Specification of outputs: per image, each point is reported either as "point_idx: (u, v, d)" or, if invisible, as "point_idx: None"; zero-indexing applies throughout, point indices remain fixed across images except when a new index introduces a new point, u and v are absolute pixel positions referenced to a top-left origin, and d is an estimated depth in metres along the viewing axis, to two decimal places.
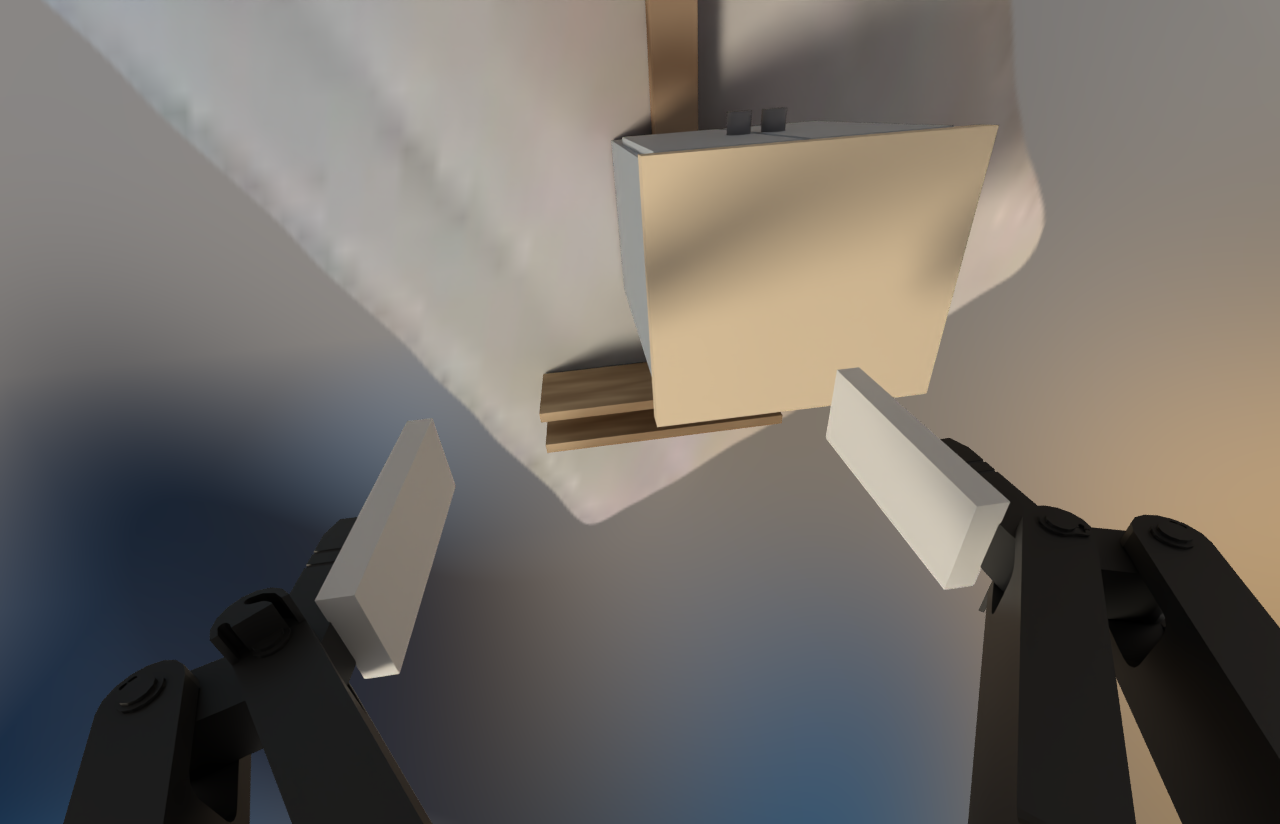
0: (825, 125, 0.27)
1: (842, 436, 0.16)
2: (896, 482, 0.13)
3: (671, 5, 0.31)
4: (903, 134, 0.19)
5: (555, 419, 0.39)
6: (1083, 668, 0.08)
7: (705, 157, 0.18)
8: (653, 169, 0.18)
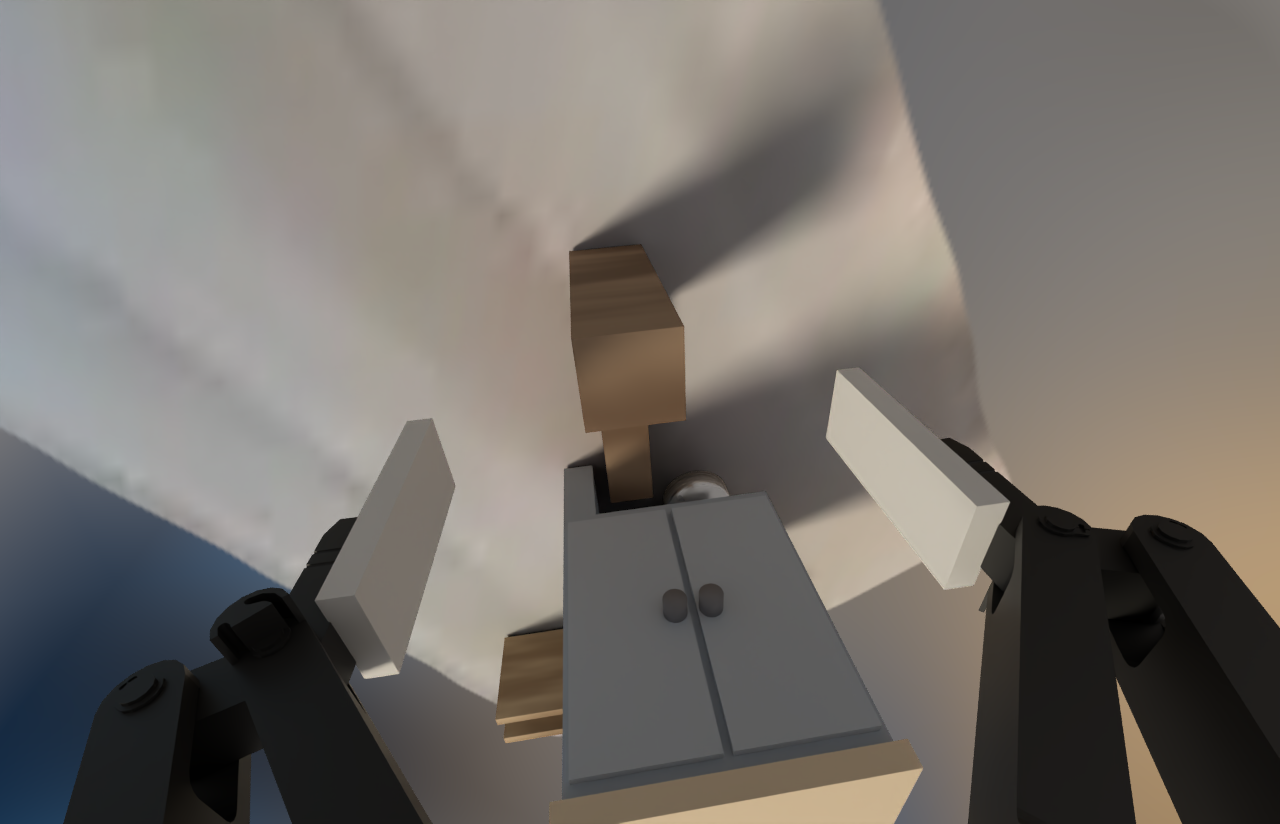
0: (767, 577, 0.26)
1: (842, 436, 0.16)
2: (896, 482, 0.13)
3: None
4: (823, 786, 0.18)
5: (512, 721, 0.39)
6: (1083, 668, 0.08)
7: None
8: None
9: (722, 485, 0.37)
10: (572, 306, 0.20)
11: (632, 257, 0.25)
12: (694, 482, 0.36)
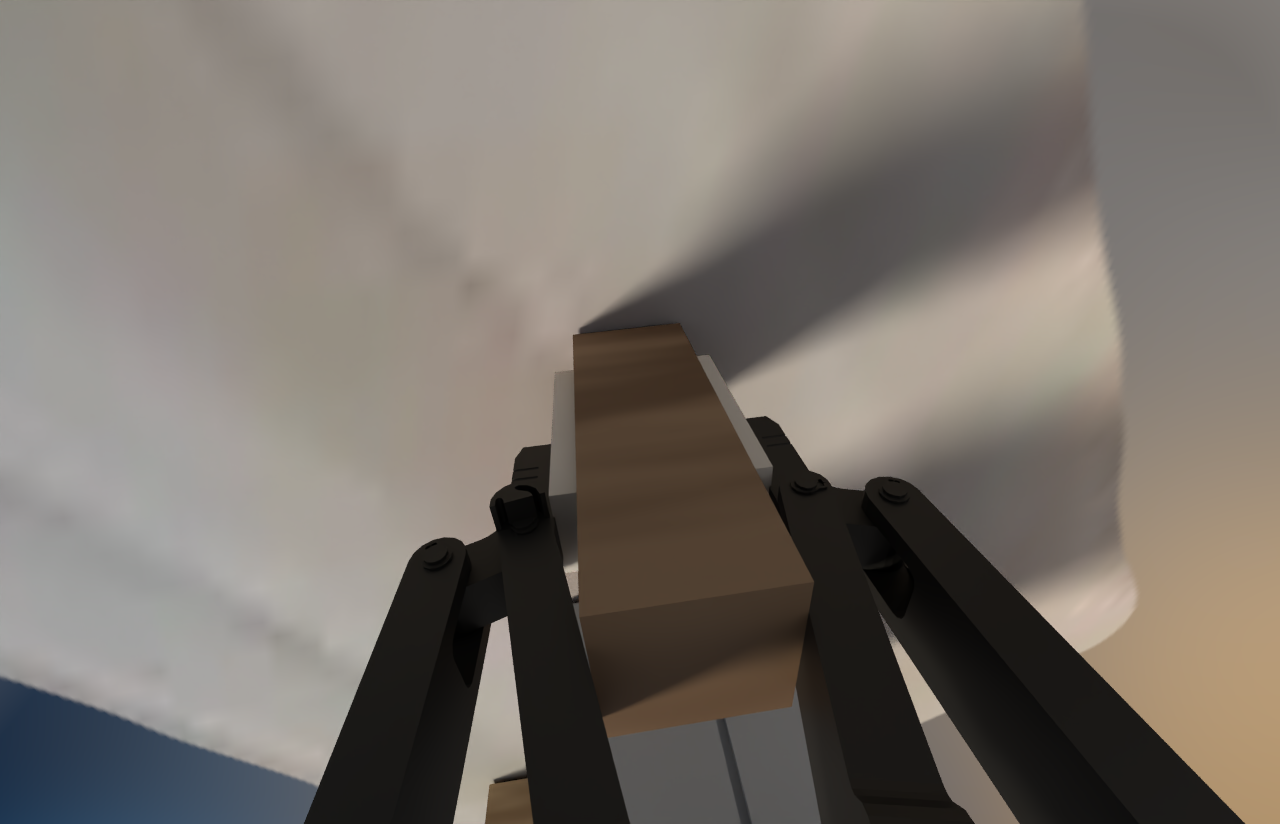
0: None
1: None
2: None
3: None
4: None
5: None
6: (855, 611, 0.09)
7: None
8: None
9: None
10: (580, 488, 0.11)
11: (671, 352, 0.16)
12: None
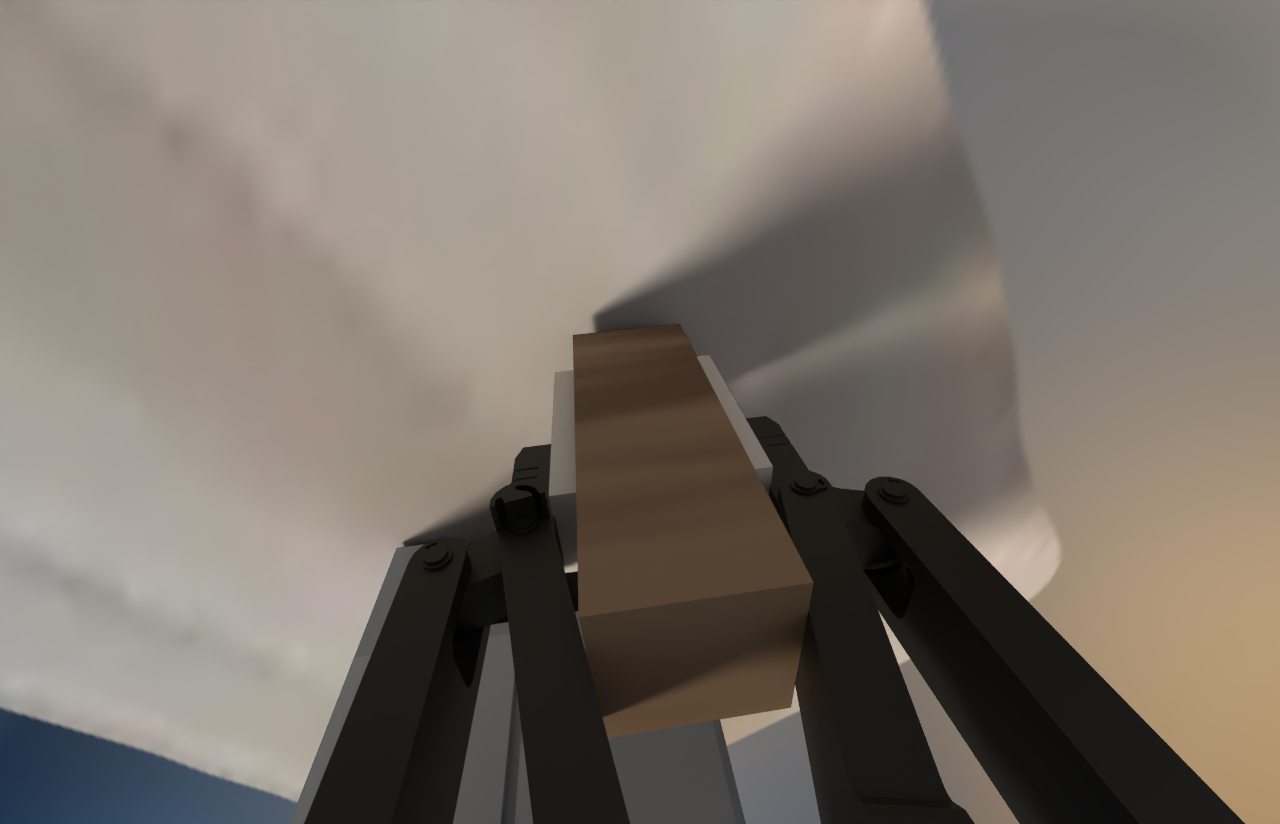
0: (658, 799, 0.14)
1: None
2: None
3: None
4: None
5: None
6: (855, 611, 0.09)
7: None
8: None
9: None
10: (579, 488, 0.11)
11: (671, 353, 0.16)
12: None
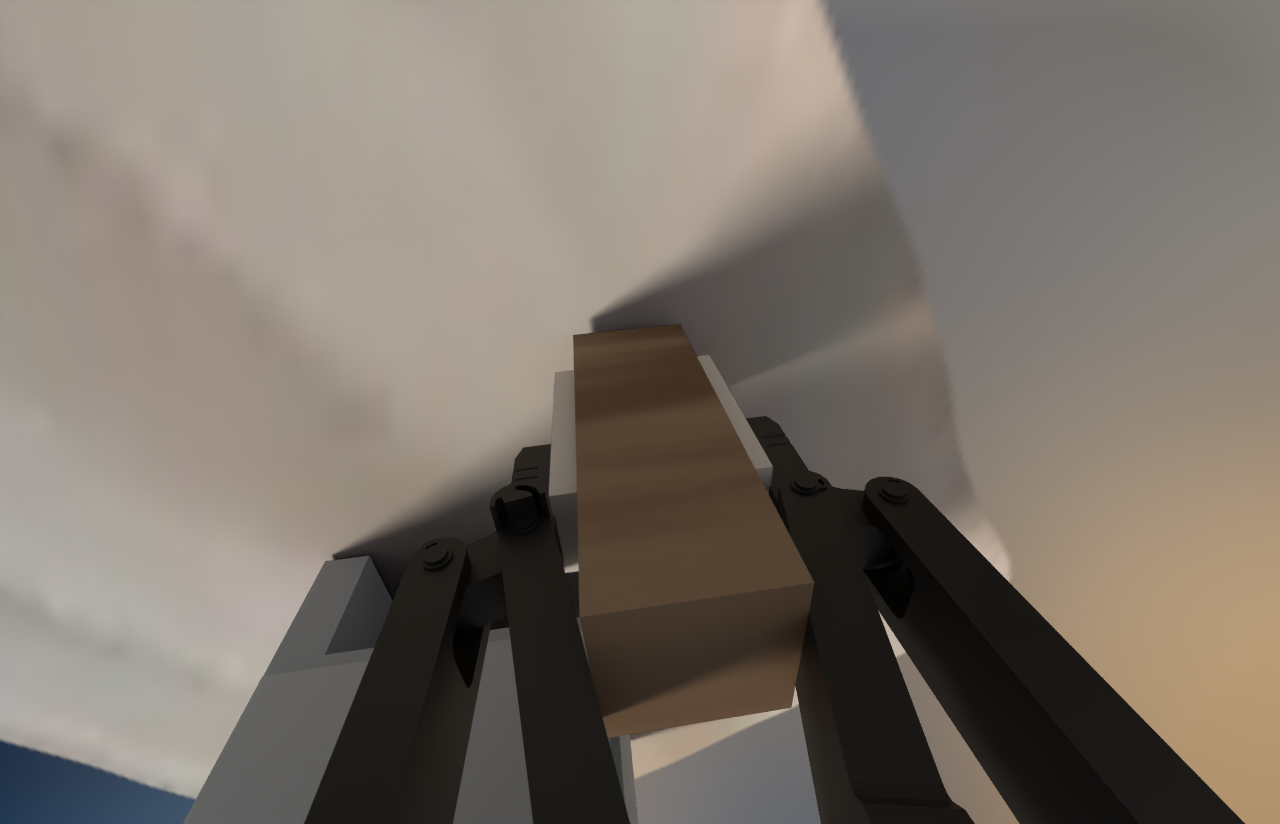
0: None
1: None
2: None
3: None
4: None
5: None
6: (855, 611, 0.09)
7: None
8: None
9: None
10: (580, 488, 0.11)
11: (671, 353, 0.16)
12: None
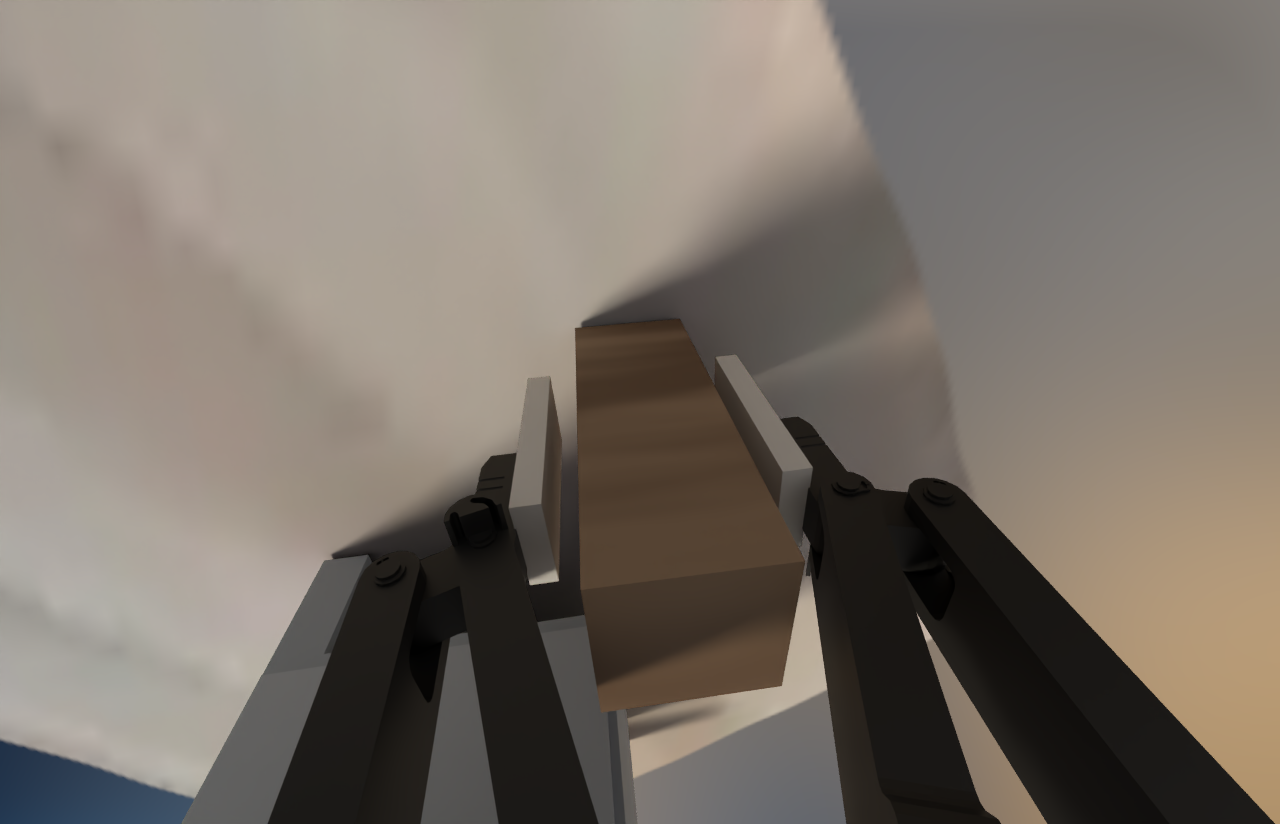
0: None
1: None
2: None
3: None
4: None
5: None
6: (893, 614, 0.09)
7: None
8: None
9: None
10: (581, 472, 0.11)
11: (671, 347, 0.17)
12: None
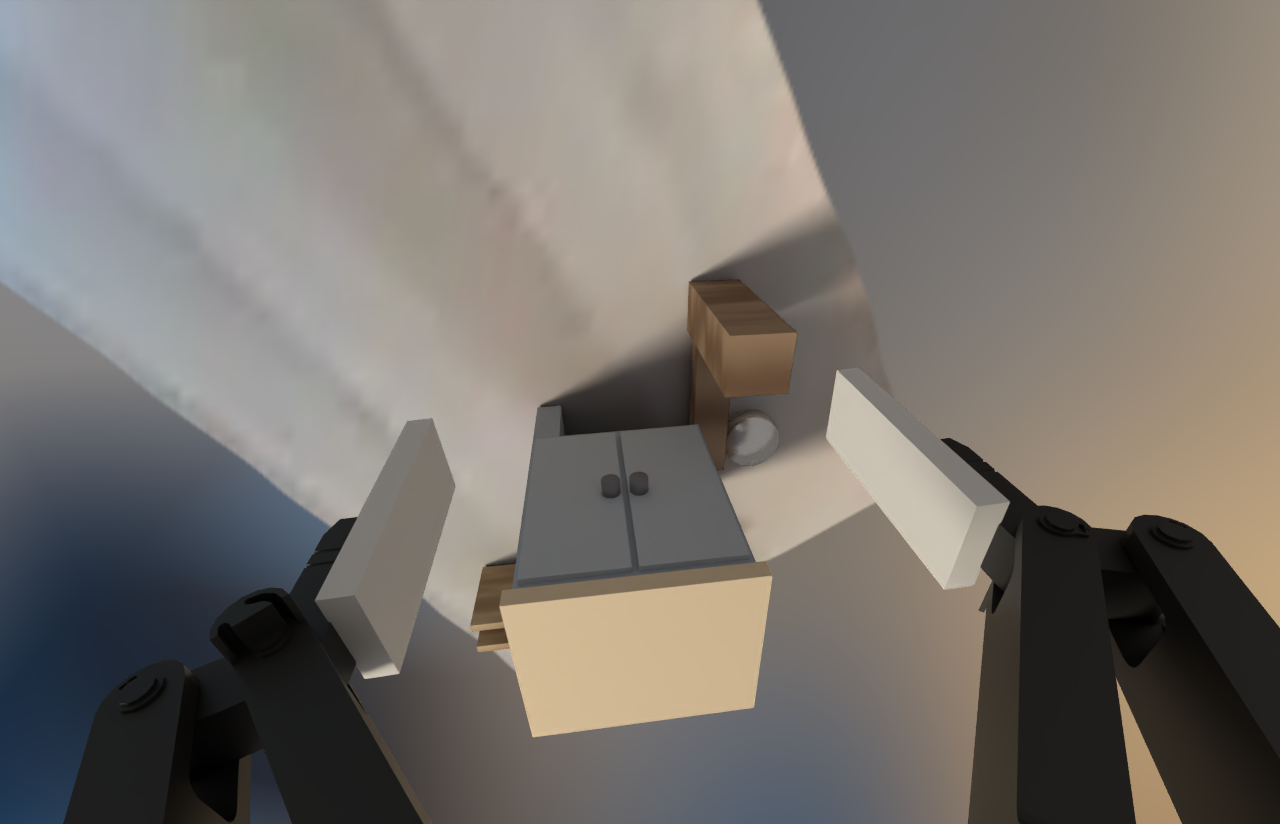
0: (686, 473, 0.33)
1: (842, 436, 0.16)
2: (896, 482, 0.13)
3: (712, 381, 0.41)
4: (699, 584, 0.25)
5: (484, 629, 0.45)
6: (1083, 668, 0.08)
7: (548, 604, 0.25)
8: (509, 611, 0.25)
9: (772, 423, 0.45)
10: (717, 317, 0.31)
11: (738, 288, 0.37)
12: (751, 416, 0.44)
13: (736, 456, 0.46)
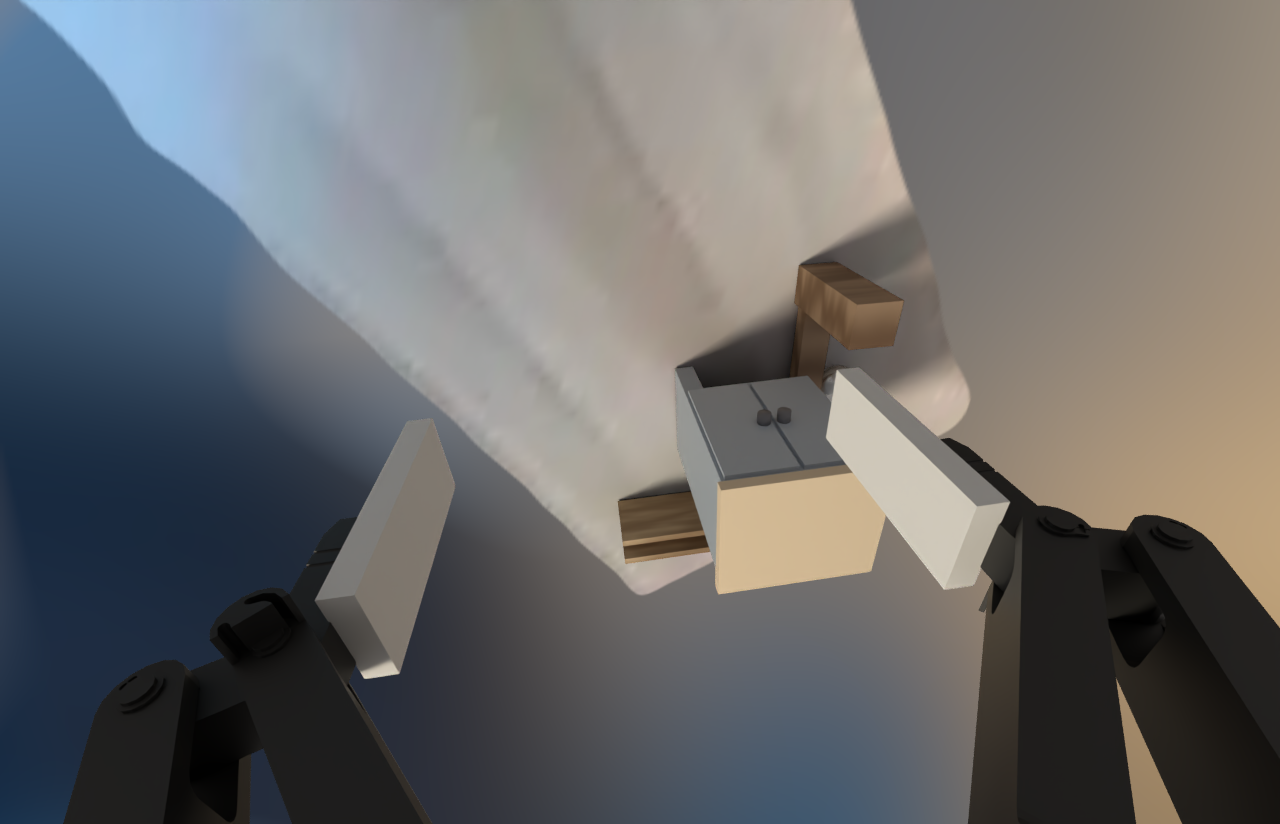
0: (814, 408, 0.45)
1: (842, 436, 0.16)
2: (896, 482, 0.13)
3: (814, 342, 0.53)
4: (850, 473, 0.37)
5: (633, 544, 0.58)
6: (1083, 668, 0.08)
7: (752, 488, 0.37)
8: (726, 494, 0.37)
9: None
10: (839, 292, 0.43)
11: (840, 269, 0.48)
12: None
13: None
